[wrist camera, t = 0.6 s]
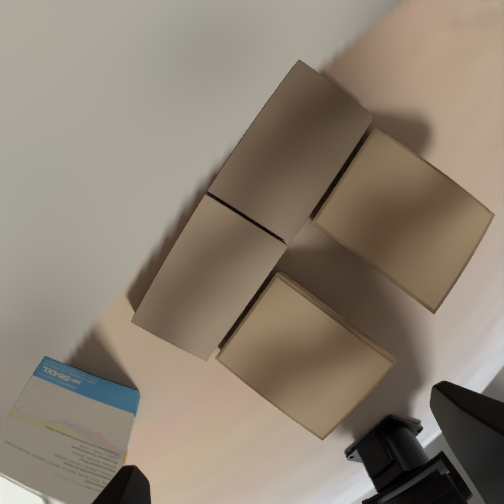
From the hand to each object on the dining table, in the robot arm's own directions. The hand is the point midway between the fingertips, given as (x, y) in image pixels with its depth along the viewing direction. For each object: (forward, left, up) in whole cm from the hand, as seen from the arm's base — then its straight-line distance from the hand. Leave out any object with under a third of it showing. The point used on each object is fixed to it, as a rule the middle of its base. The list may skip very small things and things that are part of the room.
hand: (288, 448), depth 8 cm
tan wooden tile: (+2, -3, -13) cm, 14 cm away
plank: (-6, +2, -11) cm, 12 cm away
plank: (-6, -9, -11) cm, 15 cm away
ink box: (+5, +17, -13) cm, 22 cm away
